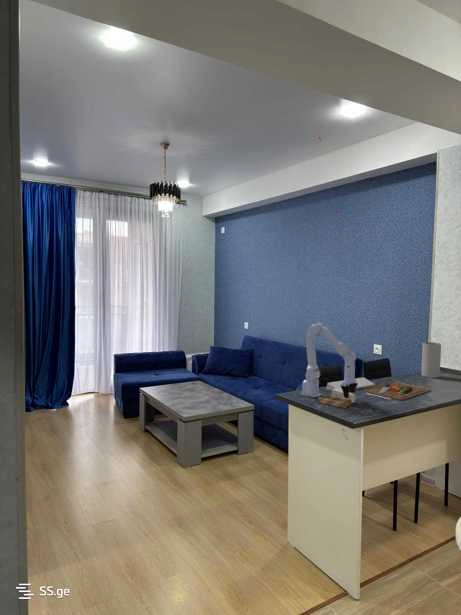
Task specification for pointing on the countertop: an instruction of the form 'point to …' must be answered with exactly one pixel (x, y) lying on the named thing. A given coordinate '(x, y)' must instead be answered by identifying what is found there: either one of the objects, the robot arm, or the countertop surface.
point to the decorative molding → (361, 381)
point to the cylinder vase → (431, 359)
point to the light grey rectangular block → (340, 394)
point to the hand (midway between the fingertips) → (349, 396)
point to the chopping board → (396, 391)
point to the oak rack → (335, 401)
